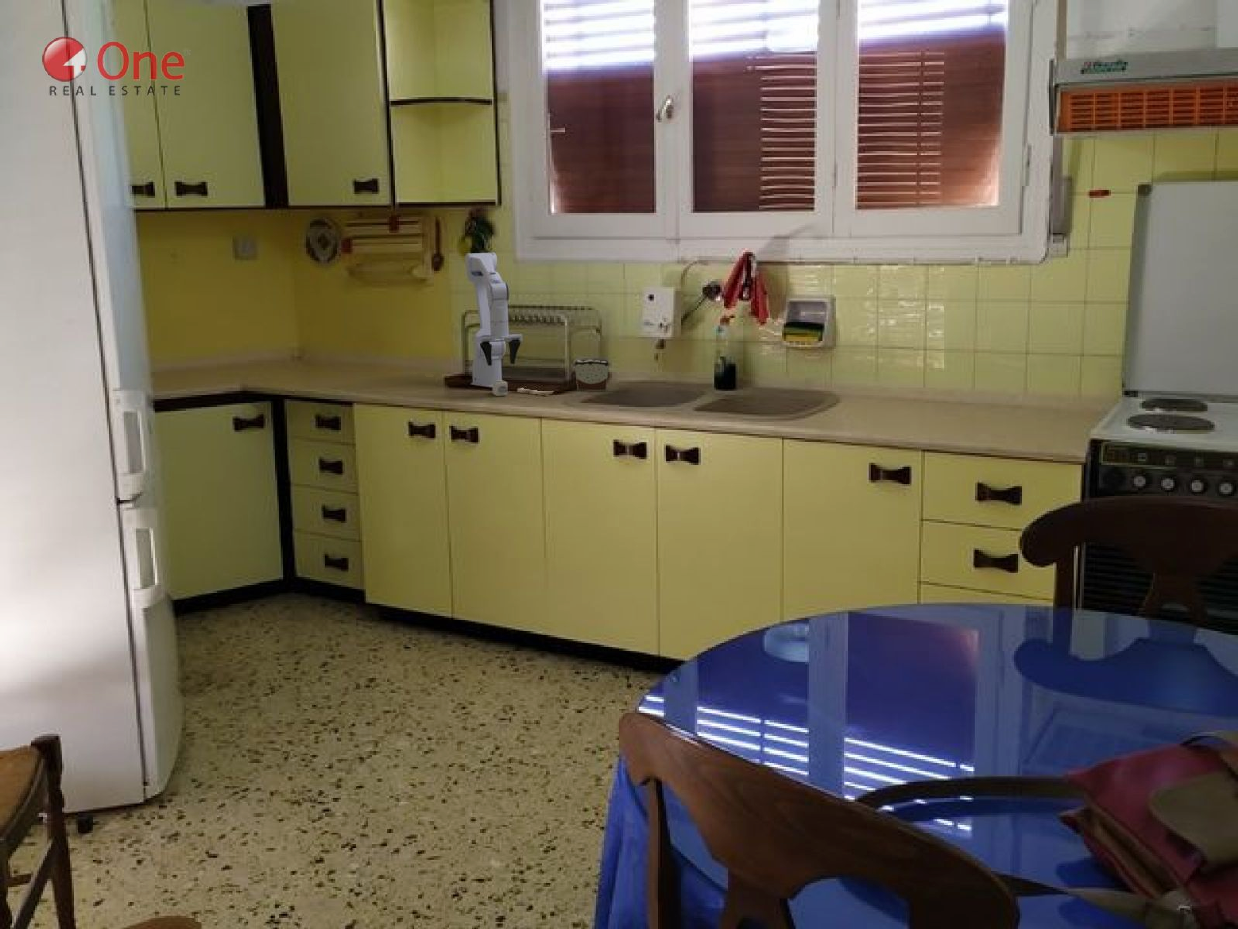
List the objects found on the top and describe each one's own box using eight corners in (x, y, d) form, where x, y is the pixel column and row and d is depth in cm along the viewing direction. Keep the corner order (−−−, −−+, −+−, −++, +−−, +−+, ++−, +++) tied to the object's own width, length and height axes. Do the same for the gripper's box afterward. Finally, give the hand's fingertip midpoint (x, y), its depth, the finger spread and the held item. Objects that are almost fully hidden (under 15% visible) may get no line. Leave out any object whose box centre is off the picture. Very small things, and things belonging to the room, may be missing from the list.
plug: (491, 392, 378) (490, 380, 377) (501, 391, 379) (501, 379, 378) (498, 397, 371) (498, 384, 370) (509, 396, 373) (509, 383, 372)
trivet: (517, 391, 379) (517, 388, 379) (541, 385, 388) (541, 382, 388) (546, 396, 372) (546, 392, 372) (569, 389, 381) (569, 386, 381)
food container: (612, 387, 386) (612, 357, 383) (610, 390, 380) (610, 360, 377) (575, 386, 387) (575, 356, 384) (573, 390, 381) (572, 359, 378)
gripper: (481, 323, 364) (483, 367, 366) (525, 320, 370) (527, 364, 372) (474, 322, 370) (476, 365, 372) (517, 319, 376) (519, 362, 378)
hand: (501, 364), depth 373 cm, fingers open, 7 cm apart
